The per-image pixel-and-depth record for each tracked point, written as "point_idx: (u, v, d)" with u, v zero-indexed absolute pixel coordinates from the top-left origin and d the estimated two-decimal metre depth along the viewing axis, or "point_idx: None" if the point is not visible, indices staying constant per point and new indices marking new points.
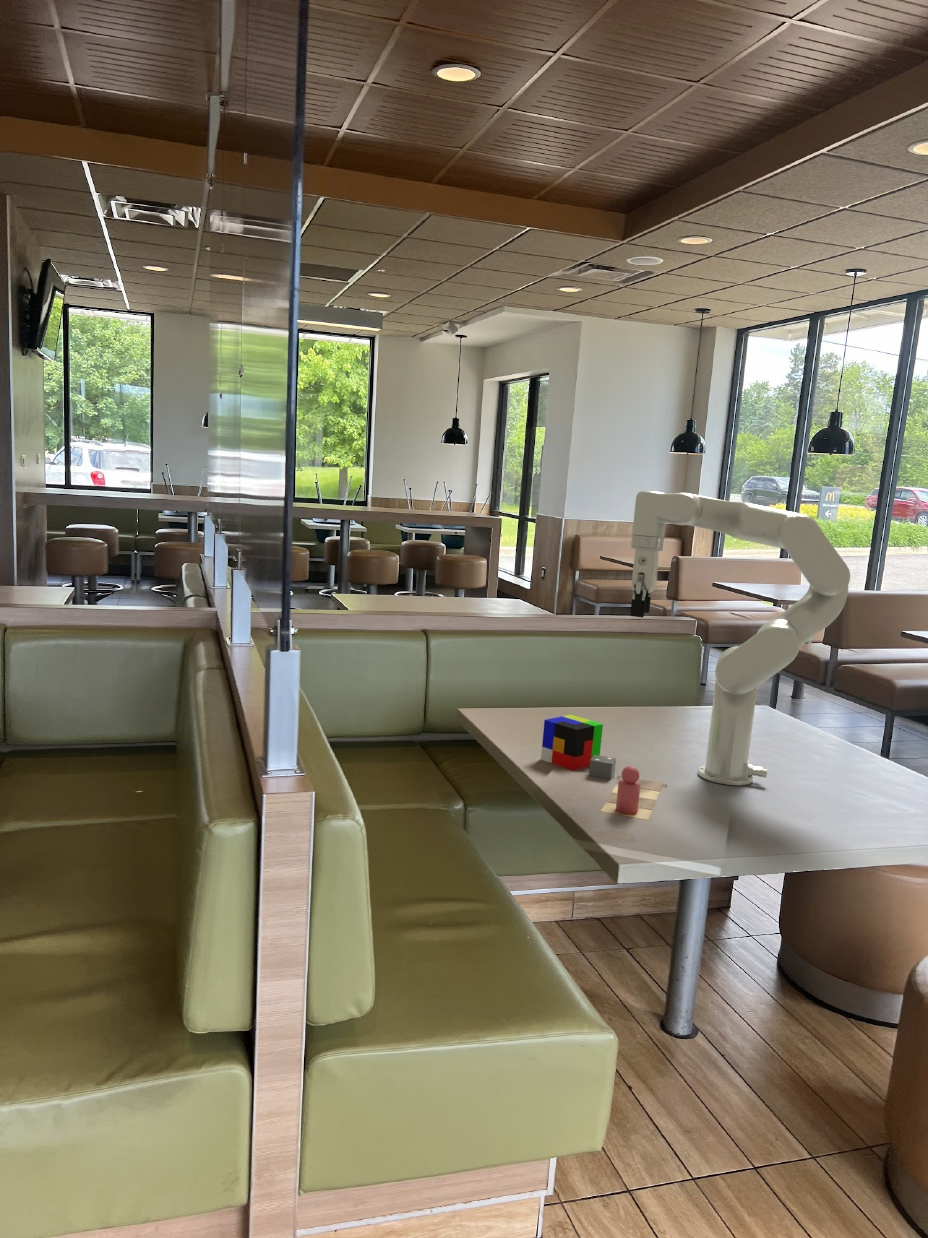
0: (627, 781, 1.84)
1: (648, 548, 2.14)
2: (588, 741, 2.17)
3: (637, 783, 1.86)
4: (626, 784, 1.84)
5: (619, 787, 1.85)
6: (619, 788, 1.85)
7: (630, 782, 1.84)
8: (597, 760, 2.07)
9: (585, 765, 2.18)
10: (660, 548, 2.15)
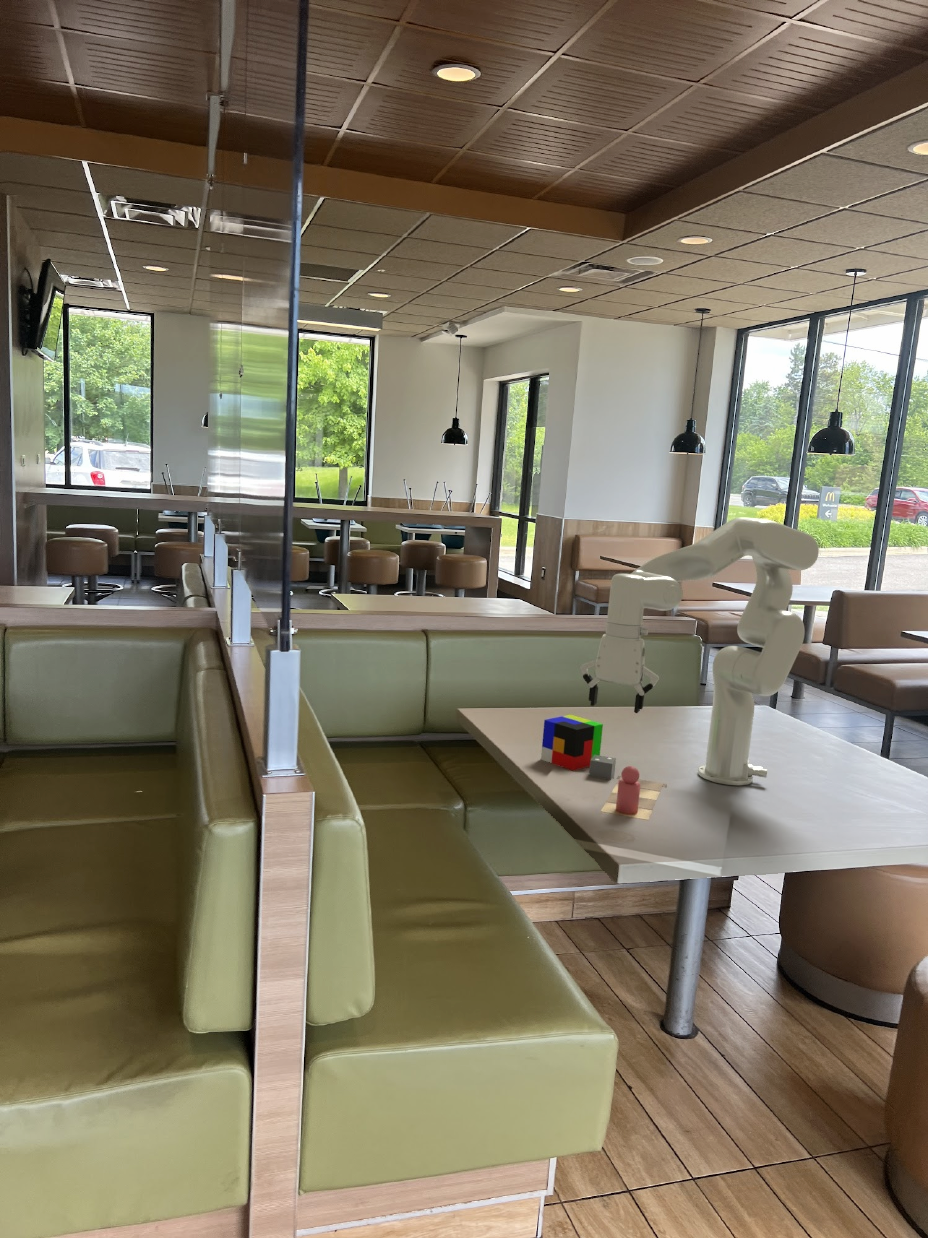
0: (627, 781, 1.84)
1: (640, 637, 1.97)
2: (588, 741, 2.17)
3: (637, 783, 1.86)
4: (626, 784, 1.84)
5: (619, 787, 1.85)
6: (619, 788, 1.85)
7: (630, 782, 1.84)
8: (597, 760, 2.07)
9: (585, 765, 2.18)
10: None
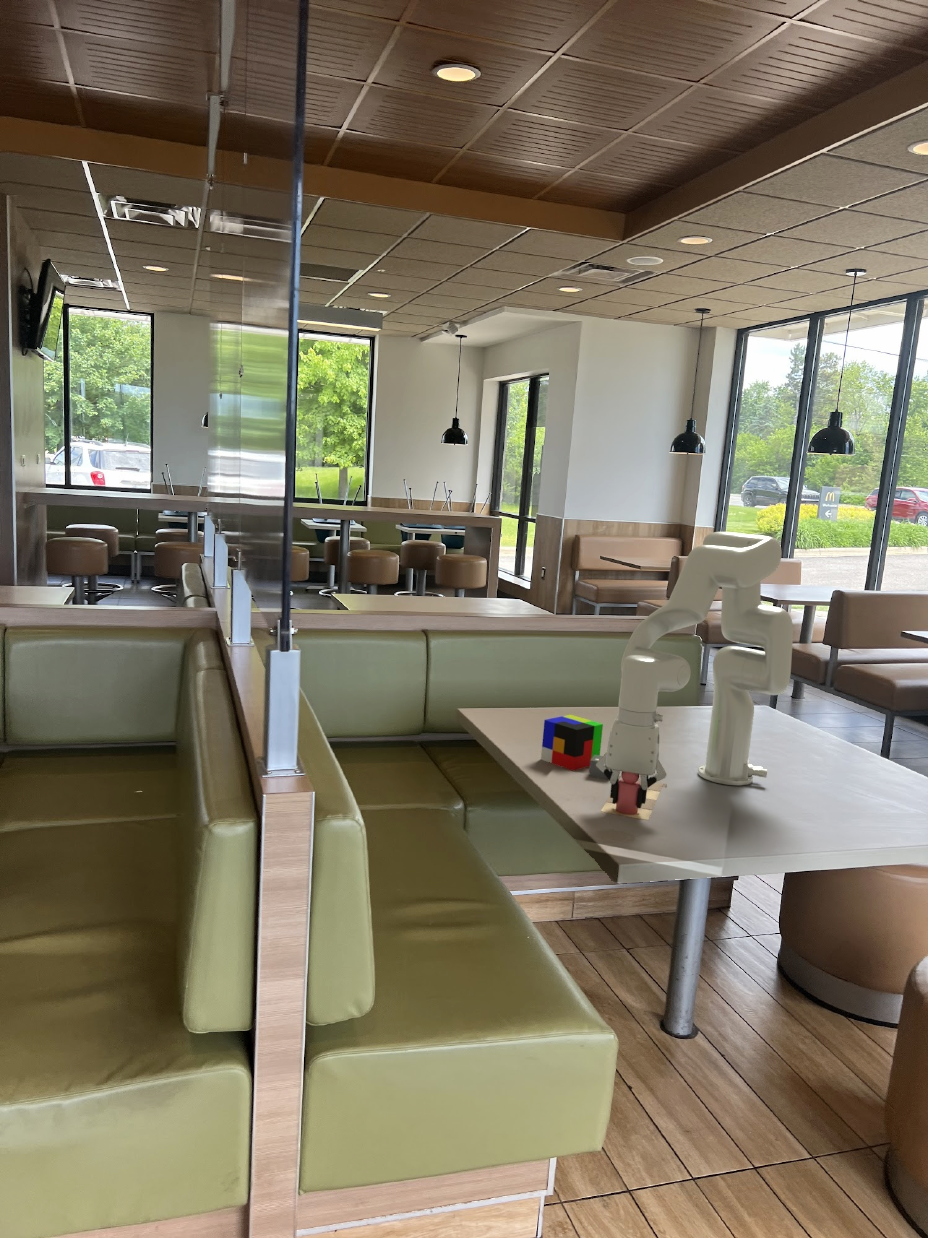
0: (627, 781, 1.84)
1: None
2: (588, 741, 2.17)
3: (637, 783, 1.86)
4: (626, 784, 1.84)
5: (619, 787, 1.85)
6: (619, 788, 1.85)
7: (630, 782, 1.84)
8: (597, 760, 2.07)
9: (585, 765, 2.18)
10: None
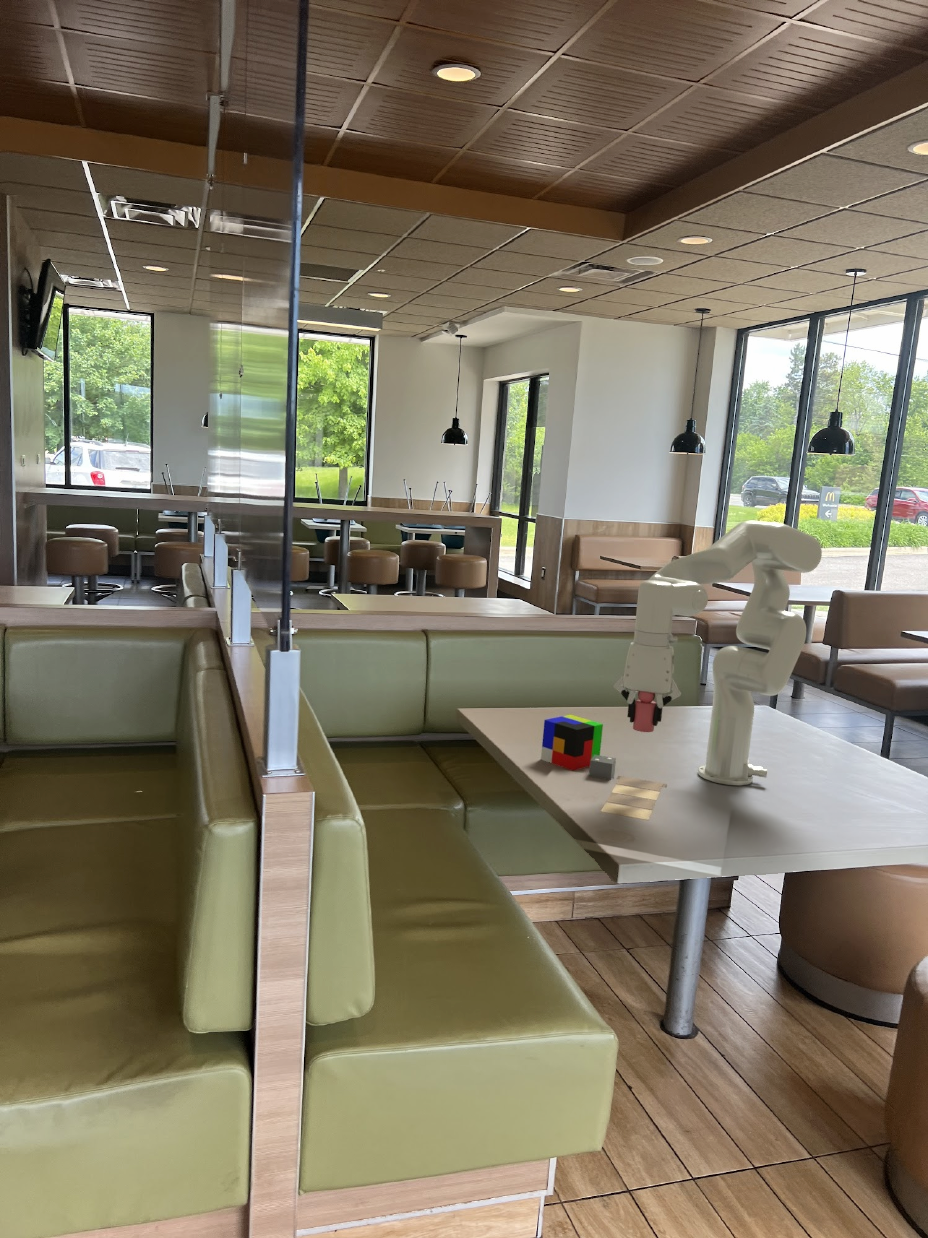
0: (644, 700, 1.94)
1: (669, 645, 1.93)
2: (588, 741, 2.17)
3: (653, 702, 1.95)
4: (643, 703, 1.94)
5: (636, 706, 1.95)
6: (636, 707, 1.95)
7: (646, 701, 1.94)
8: (597, 760, 2.07)
9: (585, 765, 2.18)
10: None
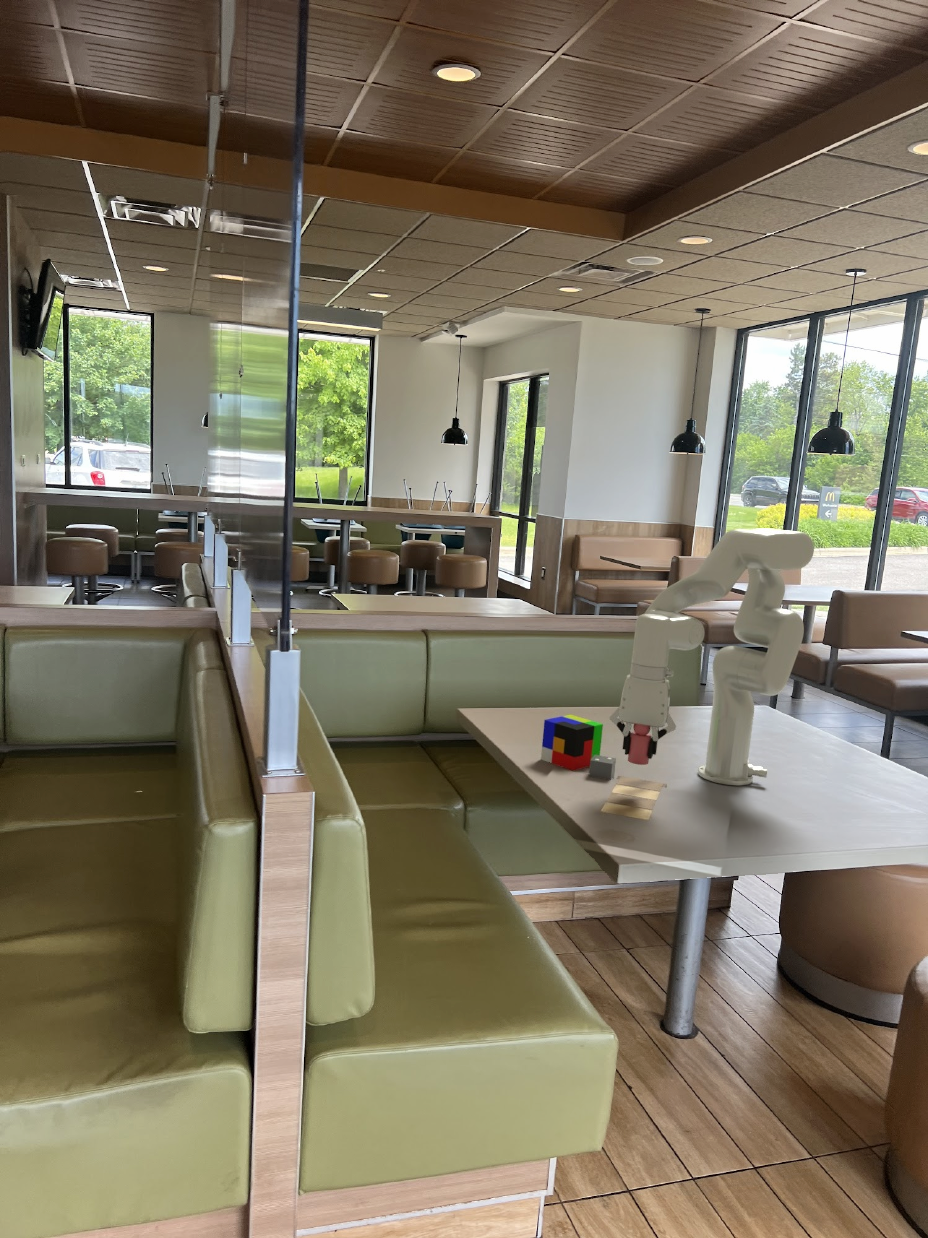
0: (639, 733, 1.95)
1: None
2: (588, 741, 2.17)
3: (648, 735, 1.97)
4: (638, 736, 1.95)
5: (631, 739, 1.96)
6: (631, 739, 1.96)
7: (642, 734, 1.95)
8: (597, 760, 2.07)
9: (585, 765, 2.18)
10: None
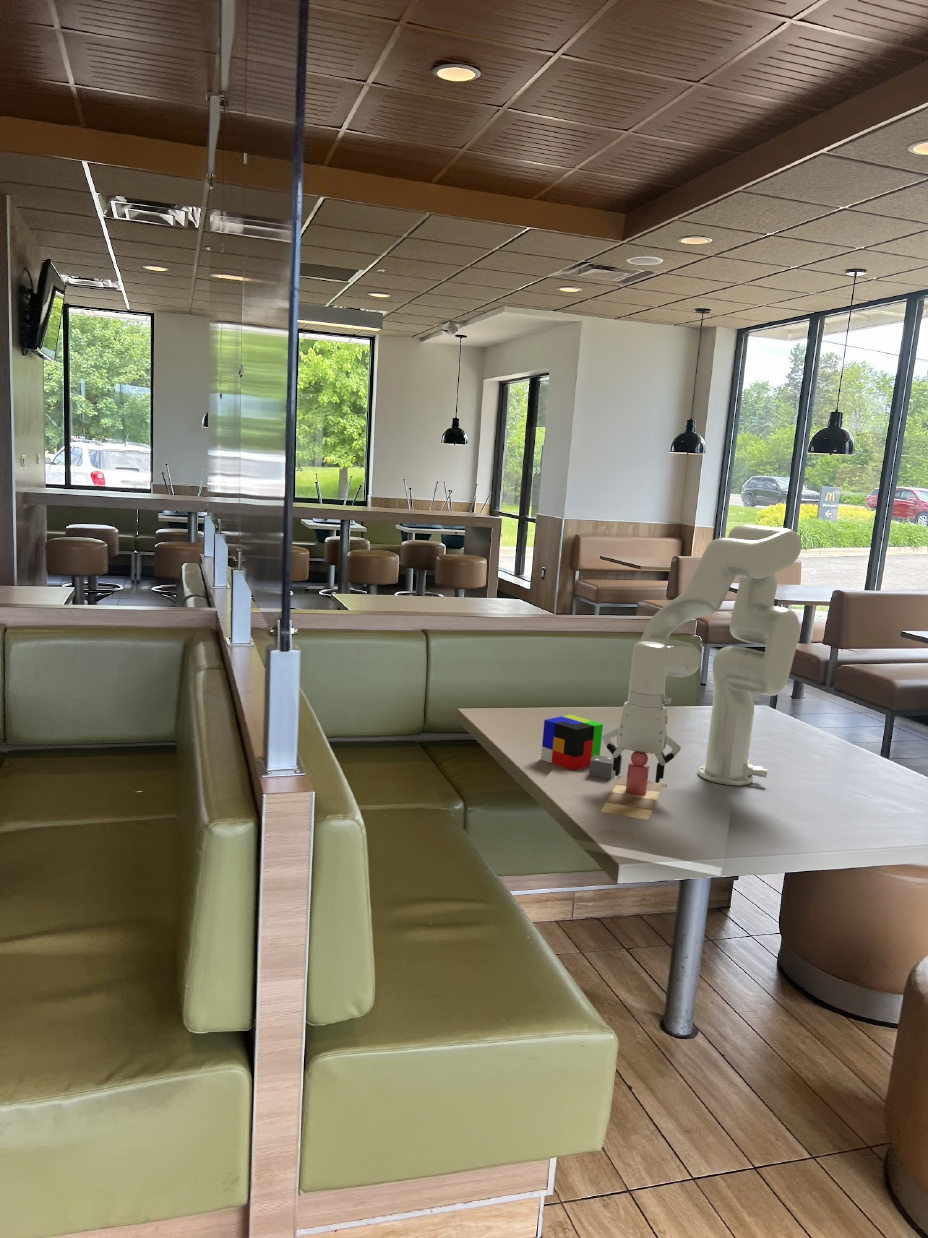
0: (636, 764, 1.97)
1: None
2: (588, 741, 2.17)
3: (646, 766, 1.98)
4: (635, 767, 1.97)
5: (629, 770, 1.97)
6: (629, 770, 1.97)
7: (639, 765, 1.96)
8: (597, 760, 2.07)
9: (585, 765, 2.18)
10: None
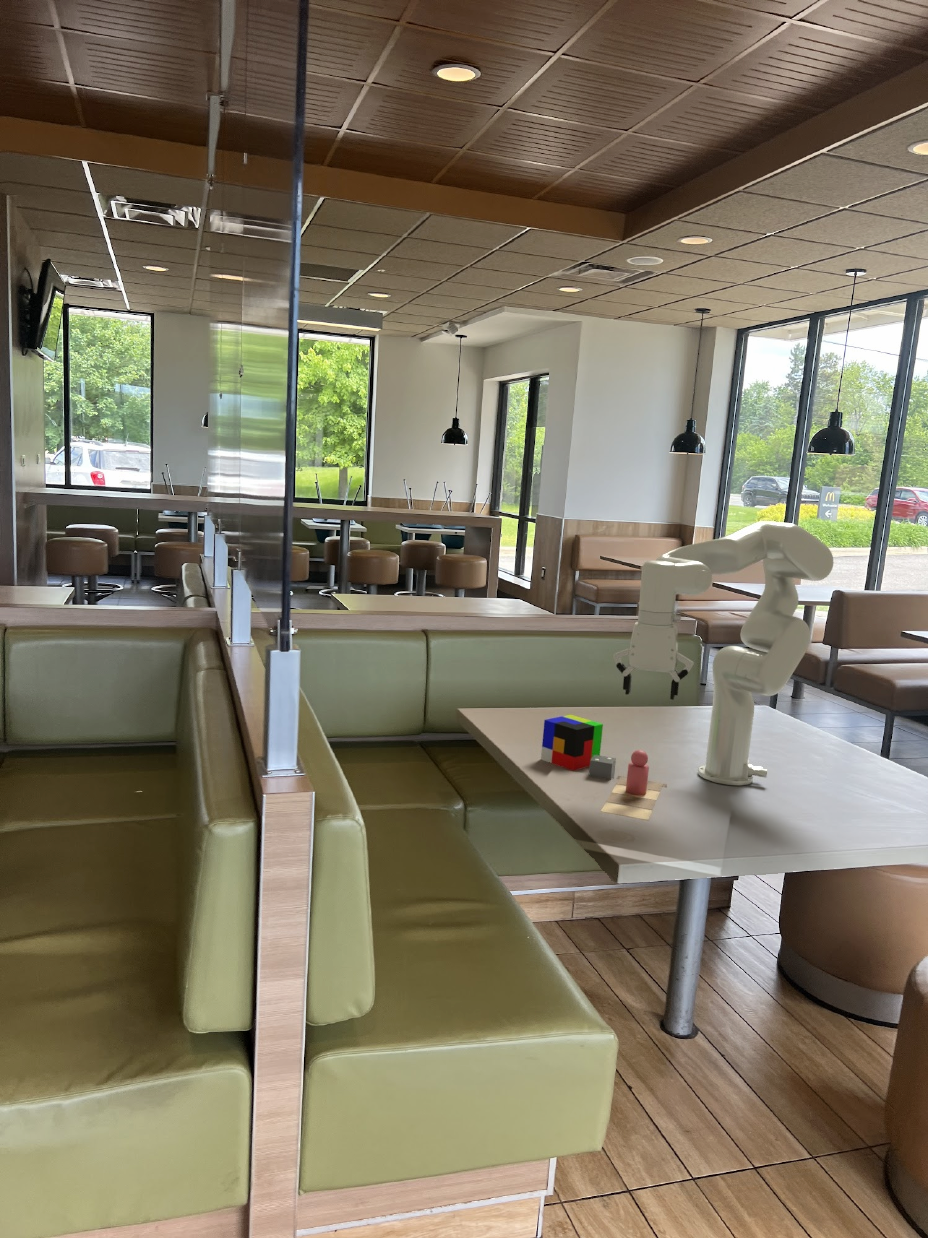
0: (636, 764, 1.97)
1: None
2: (588, 741, 2.17)
3: (646, 766, 1.98)
4: (635, 767, 1.97)
5: (629, 770, 1.97)
6: (629, 770, 1.97)
7: (639, 765, 1.96)
8: (597, 760, 2.07)
9: (585, 765, 2.18)
10: None
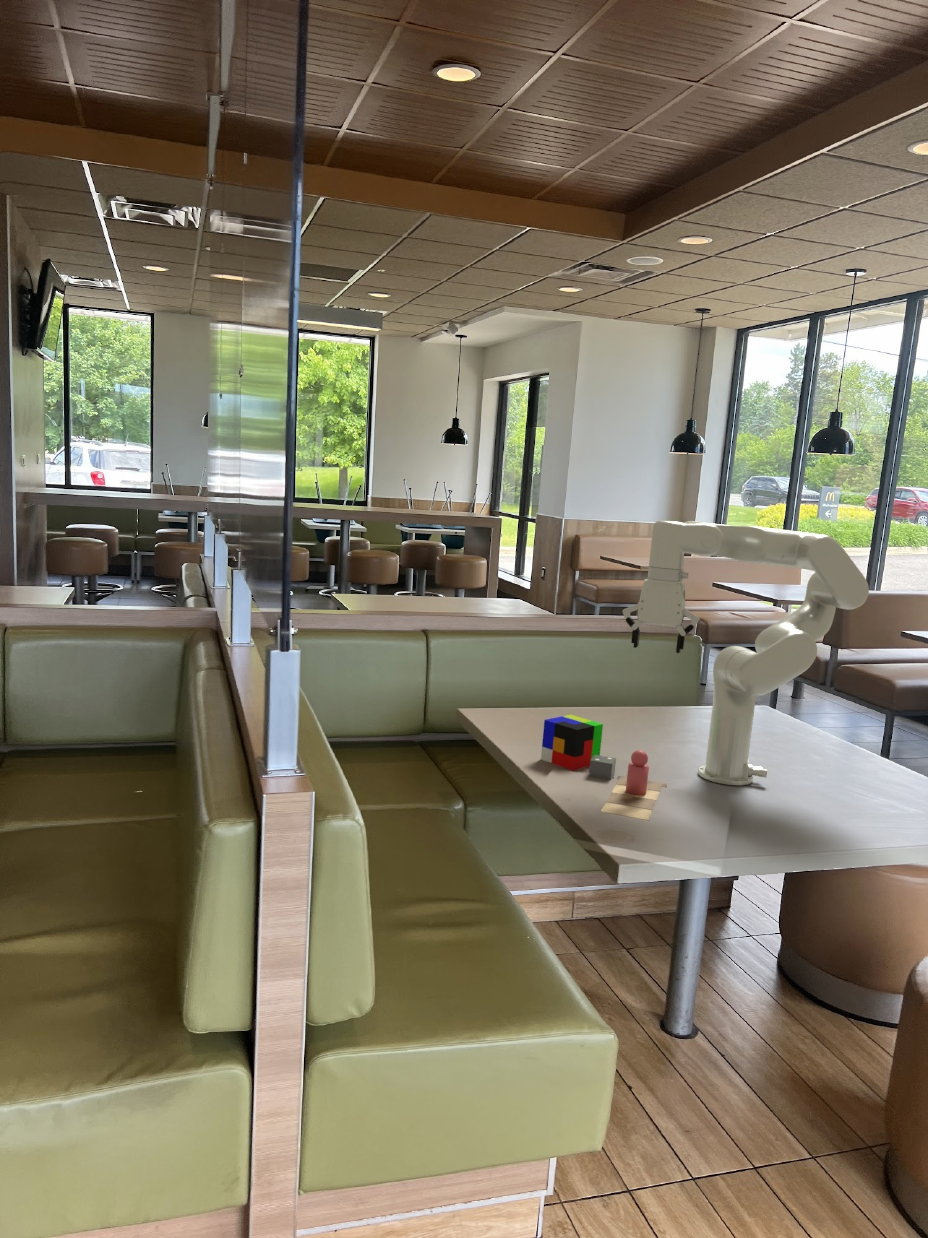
0: (636, 764, 1.97)
1: None
2: (588, 741, 2.17)
3: (646, 766, 1.98)
4: (635, 767, 1.97)
5: (629, 770, 1.97)
6: (629, 770, 1.97)
7: (639, 765, 1.96)
8: (597, 760, 2.07)
9: (585, 765, 2.18)
10: None
